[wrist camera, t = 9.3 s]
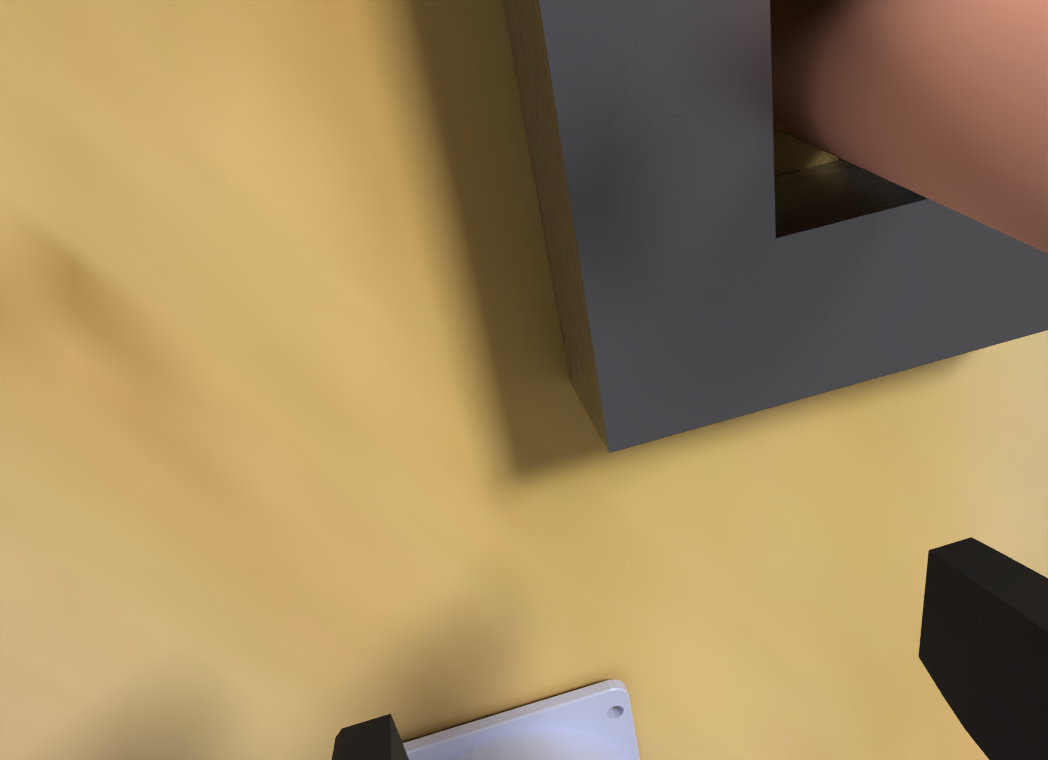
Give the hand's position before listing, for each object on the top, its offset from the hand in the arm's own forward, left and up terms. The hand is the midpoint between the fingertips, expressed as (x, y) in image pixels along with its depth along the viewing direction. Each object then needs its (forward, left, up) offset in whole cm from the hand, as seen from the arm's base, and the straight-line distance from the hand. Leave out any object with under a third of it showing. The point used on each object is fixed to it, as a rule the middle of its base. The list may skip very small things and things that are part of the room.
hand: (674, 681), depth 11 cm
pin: (+5, -7, -9) cm, 13 cm away
